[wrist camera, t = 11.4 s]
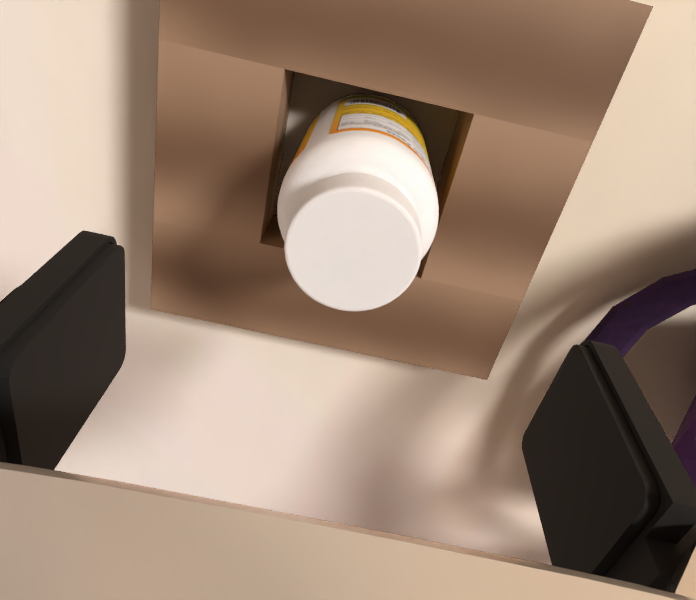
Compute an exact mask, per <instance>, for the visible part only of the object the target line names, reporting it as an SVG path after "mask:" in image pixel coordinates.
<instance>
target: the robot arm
mask: <svg viewBox="0 0 696 600" xmlns="http://www.w3.org/2000/svg"><path fill="white" fill-rule="evenodd" d="M125 352H126V334H125V253H124V248H123V247H122V246H119V245H117V244H116V240H115V238H114V237H112V236H107V235H103V234H98V233H93V232H89V231H82V232H80V233H79V234H78V235H77V236H75V237H74V238H73V239H72V240H71V241H70V242H69V243H68V244H67V245H65V246H64V247H63V248H62V249H61V250H60V251H59V252H58V253H57V254H55V255H54V256H53V257H52V258H51V259H50V260H49V261H48V262H46V263H45V264H44V265H43V266H42V267H41V268H40V269H39V270H38V271H36V272H35V273H34V274H33V275H32V276H31V277H30V278H29V279H28V280H26V281H25V282H24V283H23V284H22V285H20V286H19V287H17V288H16V289H14V290H13V291H12V292H11V293H10V294H9V295H7V296H6V297H5V298H4V299H3V300H2V301H1V302H0V600H696V487H695V486H694V484H693V482H692V480H691V479H690V477H689V475H688V473H687V472H686V470H685V468H684V466H683V464H682V463H681V461H680V459H679V457H678V456H677V454H676V452H675V450H674V448H673V447H672V445H671V443H670V441H669V440H668V438H667V436H666V434H665V432H664V431H663V429H662V427H661V425H660V424H659V422H658V420H657V418H656V416H655V415H654V413H653V411H652V409H651V408H650V406H649V404H648V402H647V400H646V399H645V397H644V395H643V393H642V392H641V390H640V388H639V386H638V384H637V383H636V381H635V379H634V377H633V376H632V374H631V372H630V370H629V369H628V367H627V365H626V363H625V361H624V360H623V358H622V356H621V354H620V353H619V351H618V349H617V348H616V347H615V346H613V345H609V344H604V343H599V342H595V341H590V340H585V341H583V342H582V343H581V344H580V345H574V346H573V347H572V348H571V349H570V351H569V353H568V354H567V356H566V358H565V360H564V362H563V364H562V365H561V367H560V369H559V371H558V373H557V375H556V376H555V378H554V380H553V382H552V384H551V386H550V387H549V389H548V391H547V393H546V395H545V397H544V398H543V400H542V402H541V404H540V406H539V408H538V409H537V411H536V413H535V415H534V417H533V419H532V420H531V422H530V424H529V426H528V428H527V430H526V431H525V434H524V436H523V441H522V450H523V454H524V458H525V462H526V466H527V470H528V473H529V477H530V481H531V485H532V489H533V493H534V497H535V501H536V504H537V508H538V512H539V516H540V520H541V524H542V528H543V531H544V535H545V539H546V543H547V547H548V551H549V555H550V559H551V562H552V565H547V564H542V563H537V562H532V561H527V560H522V559H517V558H512V557H507V556H501V555H496V554H491V553H486V552H481V551H476V550H471V549H466V548H461V547H456V546H451V545H446V544H441V543H436V542H431V541H426V540H421V539H416V538H411V537H406V536H401V535H396V534H391V533H386V532H380V531H375V530H370V529H365V528H360V527H355V526H350V525H345V524H339V523H334V522H329V521H324V520H319V519H314V518H308V517H303V516H298V515H293V514H288V513H282V512H277V511H272V510H267V509H262V508H257V507H251V506H246V505H241V504H235V503H230V502H225V501H219V500H214V499H209V498H203V497H198V496H193V495H188V494H182V493H177V492H172V491H166V490H161V489H156V488H150V487H145V486H140V485H134V484H129V483H124V482H118V481H113V480H107V479H101V478H95V477H90V476H84V475H78V474H72V473H67V472H61V471H55V470H54V469H55V467H56V466H57V464H58V463H59V461H60V460H61V458H62V457H63V455H64V454H65V452H66V451H67V449H68V448H69V446H70V444H71V443H72V441H73V440H74V438H75V437H76V435H77V434H78V432H79V431H80V429H81V428H82V426H83V425H84V423H85V422H86V420H87V418H88V417H89V415H90V414H91V412H92V411H93V409H94V408H95V406H96V405H97V403H98V402H99V400H100V399H101V397H102V396H103V394H104V393H105V391H106V389H107V388H108V386H109V385H110V383H111V382H112V380H113V379H114V377H115V376H116V374H117V373H118V371H119V370H120V368H121V366H122V364H123V361H124V358H125Z"/></svg>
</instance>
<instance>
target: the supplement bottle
mask: <svg viewBox="0 0 696 600" xmlns="http://www.w3.org/2000/svg"><path fill="white" fill-rule="evenodd" d="M277 214H278V224H279V228H280V231H281V235H282V238H283V240H284V251H285V259H286V263H287V266H288V269H289V271H290V273H291V275H292V277H293V279H294V281H295V282H296V283H297V284H298V286H299V287H300V288H301V289H302V290H303V291H304V292H305V293H306V294H307V295H308V296H310V297H311V298H312V299H314V300H315V301H317V302H319V303H321V304H323V305H325V306H328V307H331V308H334V309H338V310H344V311H364V310H371V309H375V308H378V307H381V306H383V305H385V304H387V303H389V302H391V301H393V300H394V299H396V298H397V297H398V296H400V295H401V294H402V293H403V292H404V291H405V290H406V289H407V288H408V287H409V285H410V284H411V283H412V281H413V279H414V278H415V276H416V274H417V272H418V269H419V266H420V262H421V260H422V258H423V257H424V256H425V254H426V253H427V251H428V250H429V248H430V246H431V244H432V242H433V240H434V237H435V234H436V230H437V226H438V219H439V205H438V197H437V191H436V187H435V182H434V179H433V175H432V171H431V167H430V162H429V158H428V154H427V149H426V145H425V141H424V138H423V135H422V133H421V130H420V128H419V126H418V124H417V123H416V121H415V120H414V118H413V117H412V116H411V115H410V114H409V113H408V112H407V111H406V110H405V109H404V108H402V107H401V106H400V105H398V104H397V103H395V102H393V101H391V100H389V99H387V98H384V97H381V96H377V95H371V94H358V95H351V96H347V97H344V98H341V99H339V100H337V101H335V102H333V103H331V104H330V105H328V106H327V107H325V108H324V109H323V110H322V111H321V112H320V113H319V114H318V115H317V116H316V118H315V119H314V120H313V122H312V123H311V125H310V126H309V128H308V130H307V132H306V134H305V136H304V138H303V141H302V143H301V145H300V147H299V149H298V151H297V153H296V155H295V157H294V159H293V161H292V163H291V164H290V166H289V168H288V171H287V173H286V175H285V177H284V180H283V182H282V186H281V189H280V192H279V197H278V206H277Z"/></svg>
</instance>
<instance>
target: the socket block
mask: <svg viewBox="0 0 696 600" xmlns="http://www.w3.org/2000/svg"><path fill="white" fill-rule="evenodd" d="M652 8H653V6H649V5H645V4H641V3H637V2H633V1H629V0H160V10H159V45H158V79H157V113H156V148H155V182H154V216H153V251H152V285H151V309H153V310H158V311H163V312H167V313H172V314H177V315H182V316H186V317H191V318H196V319H201V320H205V321H210V322H215V323H220V324H225V325H229V326H234V327H239V328H244V329H248V330H253V331H258V332H263V333H267V334H272V335H277V336H282V337H286V338H291V339H296V340H301V341H305V342H310V343H315V344H320V345H324V346H329V347H334V348H339V349H343V350H348V351H353V352H358V353H362V354H367V355H372V356H377V357H381V358H386V359H391V360H396V361H400V362H405V363H410V364H415V365H420V366H424V367H429V368H434V369H439V370H443V371H448V372H453V373H458V374H462V375H467V376H472V377H477V378H481V379H486V380H487V378H488V376H489V374H490V372H491V369H492V367H493V365H494V363H495V360H496V358H497V356H498V354H499V351H500V349H501V347H502V345H503V342H504V340H505V338H506V336H507V333H508V331H509V329H510V327H511V324H512V322H513V320H514V318H515V316H516V313H517V311H518V309H519V307H520V304H521V302H522V300H523V298H524V295H525V293H526V291H527V289H528V286H529V284H530V282H531V280H532V277H533V275H534V273H535V271H536V268H537V266H538V264H539V262H540V259H541V257H542V255H543V253H544V250H545V248H546V246H547V244H548V241H549V239H550V237H551V235H552V232H553V230H554V228H555V226H556V223H557V221H558V219H559V217H560V214H561V212H562V210H563V208H564V205H565V203H566V201H567V199H568V196H569V194H570V192H571V190H572V187H573V185H574V183H575V181H576V178H577V176H578V174H579V172H580V169H581V167H582V165H583V163H584V160H585V158H586V156H587V154H588V152H589V149H590V147H591V145H592V143H593V140H594V138H595V136H596V134H597V131H598V129H599V127H600V125H601V122H602V120H603V118H604V116H605V113H606V111H607V109H608V107H609V104H610V102H611V100H612V98H613V95H614V93H615V91H616V89H617V86H618V84H619V82H620V80H621V77H622V75H623V73H624V71H625V68H626V66H627V64H628V62H629V59H630V57H631V55H632V53H633V50H634V48H635V46H636V44H637V41H638V39H639V37H640V35H641V32H642V30H643V28H644V26H645V23H646V21H647V19H648V17H649V14H650V12H651V10H652ZM294 72H299V73H303V74H307V75H312V76H316V77H320V78H324V79H329V80H333V81H337V82H341V83H345V84H350V85H354V86H358V87H362V88H366V89H371V90H375V91H379V92H383V93H388V94H392V95H396V96H400V97H404V98H409V99H413V100H417V101H421V102H426V103H430V104H434V105H438V106H442V107H447V108H451V109H455V110H459V111H460V114H459V117H458V121H457V124H456V127H455V130H454V134H453V137H452V140H451V143H450V146H449V150H448V153H447V156H446V159H445V163H444V166H443V169H442V172H441V175H440V179H439V182H438V185H437V188H436V191H437V197H438V205H439V219H438V226H437V230H436V234H435V237H434V240H433V242H432V244H431V246H430V248H429V250H428V251H427V253H426V254H425V256H424V257H423V258H422V260H421V262H420V266H419V269H418V272H417V274H416V276H415V278H414V279H413V281H412V283H411V284H410V285H409V287H408V288H407V289H406V290H405V291H404V292H403V293H402V294H401V295H400V296H398V297H397V298H396V299H394V300H393V301H391V302H389V303H387V304H385V305H383V306H381V307H378V308H375V309H371V310H364V311H344V310H338V309H334V308H331V307H328V306H325V305H323V304H321V303H319V302H317V301H315V300H314V299H312V298H311V297H310V296H308V295H307V294H306V293H305V292H304V291H303V290H302V289H301V288H300V287H299V286H298V284H297V283H296V282H295V281H294V279H293V277H292V275H291V273H290V271H289V269H288V266H287V263H286V259H285V251H284V240H283V238H282V235H281V231H280V228H279V224H278V217H275V216H273V211H274V204H275V197H276V191H277V184H278V177H279V171H280V164H281V158H282V151H283V144H284V138H285V131H286V125H287V118H288V111H289V105H290V98H291V91H292V85H293V78H294Z"/></svg>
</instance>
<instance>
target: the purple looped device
mask: <svg viewBox="0 0 696 600" xmlns="http://www.w3.org/2000/svg"><path fill="white" fill-rule="evenodd" d="M695 304H696V269H693V270H690V271H686V272H682V273H678V274H675V275H671V276H667V277H663V278H661V279H660V280H658V281H656V282H655V283H653V284H651V285H649V286H648V287H646V288H644V289H643V290H641V291H639V292H637V293H636V294H634V295H632V296H631V297H629V298H627V299H625V300H624V301H622V302H620V303H619V304H617V305H615V306H613V307H612V308H611V309H610V311H609V312H608V313H607V314H606V315H605V317H604V318H603V319H602V320H601V321H600V323H599V324H598V325H597V326H596V327H595V329H594V330H593V331H592V332H591V333H590V335H589V336H588V337H587V338H586V339H585V340H590V341H595V342H599V343H604V344H609V345H613V346H615V347H616V348H617V349H618V351H619V353H620V354H621V356H622V358H623V357H624V355H625V354H626V353H627V352H628V351H629V350H630V349H631V347H632V346H633V345H634V344H635V343H636V342H637V341H638V339H639V338H640V337H641V336H642V335H643V334H644V333H645V332H646V330H648V329H650V328H651V327H653V326H655V325H657V324H659V323H661V322H662V321H664V320H666V319H668V318H670V317H671V316H673V315H675V314H677V313H679V312H681V311H682V310H684V309H686V308H688V307H690V306H692V305H695ZM672 447H673V448H674V450H675V452H676V454H677V456H678V457H679V459H680V461H681V463H682V464H683V466H684V468H685V470H686V472H687V473H688V475H689V477H690V479H691V480H692V482H693V484H694V486H695V487H696V396H695V398H694V400H693V402H692V404H691V406H690V408H689V410H688V412H687V414H686V416H685V418H684V420H683V422H682V424H681V426H680V428H679V430H678V432H677V434H676V436H675V438H674V440H673V442H672Z"/></svg>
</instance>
